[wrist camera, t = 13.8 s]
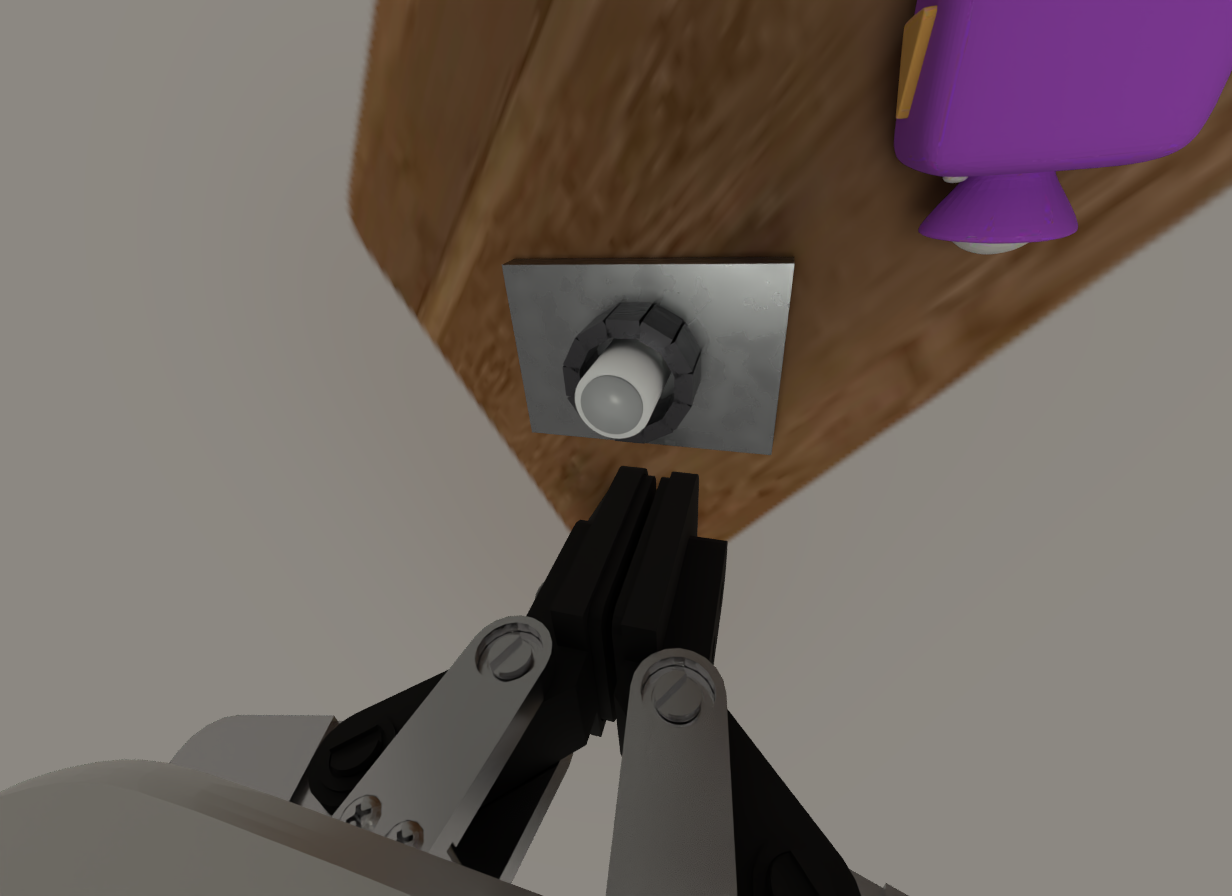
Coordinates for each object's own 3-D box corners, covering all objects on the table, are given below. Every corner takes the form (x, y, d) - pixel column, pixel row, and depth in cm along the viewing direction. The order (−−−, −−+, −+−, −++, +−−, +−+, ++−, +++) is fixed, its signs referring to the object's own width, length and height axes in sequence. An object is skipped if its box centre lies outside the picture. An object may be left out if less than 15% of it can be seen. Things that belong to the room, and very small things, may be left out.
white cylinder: (600, 332, 36) (564, 373, 30) (666, 324, 34) (641, 365, 29) (615, 393, 39) (583, 442, 33) (677, 389, 37) (656, 439, 31)
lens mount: (514, 258, 37) (473, 279, 32) (794, 256, 32) (795, 280, 27) (541, 420, 45) (511, 456, 40) (771, 441, 39) (769, 485, 34)
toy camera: (883, 252, 30) (918, 299, 22) (877, -35, 24) (921, -114, 16) (1112, 204, 26) (1255, 239, 18) (1177, -158, 20) (1437, -347, 12)
